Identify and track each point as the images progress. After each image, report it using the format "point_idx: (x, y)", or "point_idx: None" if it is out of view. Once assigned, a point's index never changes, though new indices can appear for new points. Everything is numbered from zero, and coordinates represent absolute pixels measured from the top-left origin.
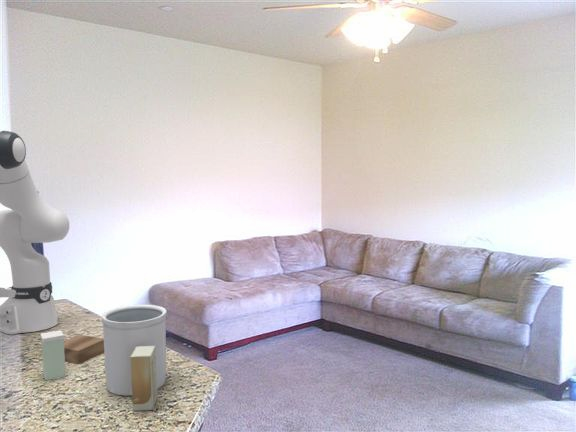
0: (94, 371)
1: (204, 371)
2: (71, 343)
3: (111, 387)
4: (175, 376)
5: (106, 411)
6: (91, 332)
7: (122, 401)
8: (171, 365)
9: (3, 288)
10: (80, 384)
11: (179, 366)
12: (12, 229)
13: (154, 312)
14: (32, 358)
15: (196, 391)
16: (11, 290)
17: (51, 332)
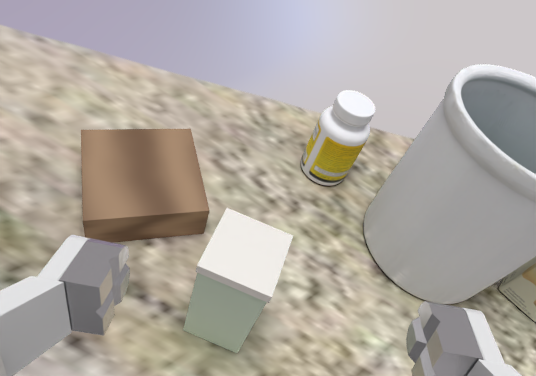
0: None
1: None
2: (128, 182)
3: (451, 299)
4: None
5: (524, 369)
6: (9, 81)
7: (492, 317)
8: (380, 157)
9: (118, 254)
10: (339, 313)
11: (395, 155)
12: None
13: (485, 84)
14: (11, 273)
15: None
16: (491, 339)
17: (223, 237)
